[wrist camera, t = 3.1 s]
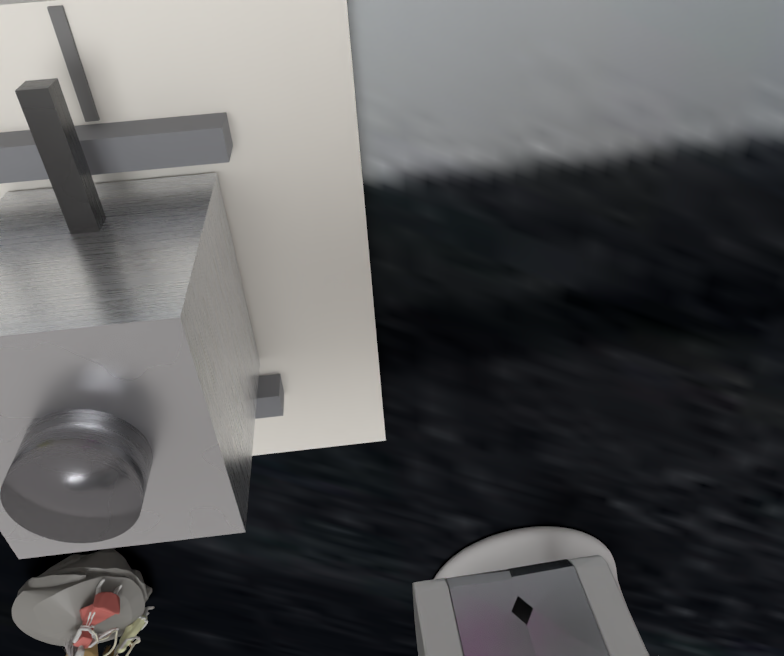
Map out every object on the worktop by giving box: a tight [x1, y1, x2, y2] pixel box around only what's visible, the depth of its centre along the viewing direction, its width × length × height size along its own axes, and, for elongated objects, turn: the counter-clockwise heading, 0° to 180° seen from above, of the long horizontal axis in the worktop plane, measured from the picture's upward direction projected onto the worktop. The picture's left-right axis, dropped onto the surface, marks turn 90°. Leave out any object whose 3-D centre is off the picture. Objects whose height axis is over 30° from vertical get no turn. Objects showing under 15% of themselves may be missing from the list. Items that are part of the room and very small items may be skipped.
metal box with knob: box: [0, 78, 260, 559], centre depth 14 cm, size 5×9×7 cm, turn 3°
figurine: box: [12, 548, 154, 656], centre depth 25 cm, size 5×4×6 cm
